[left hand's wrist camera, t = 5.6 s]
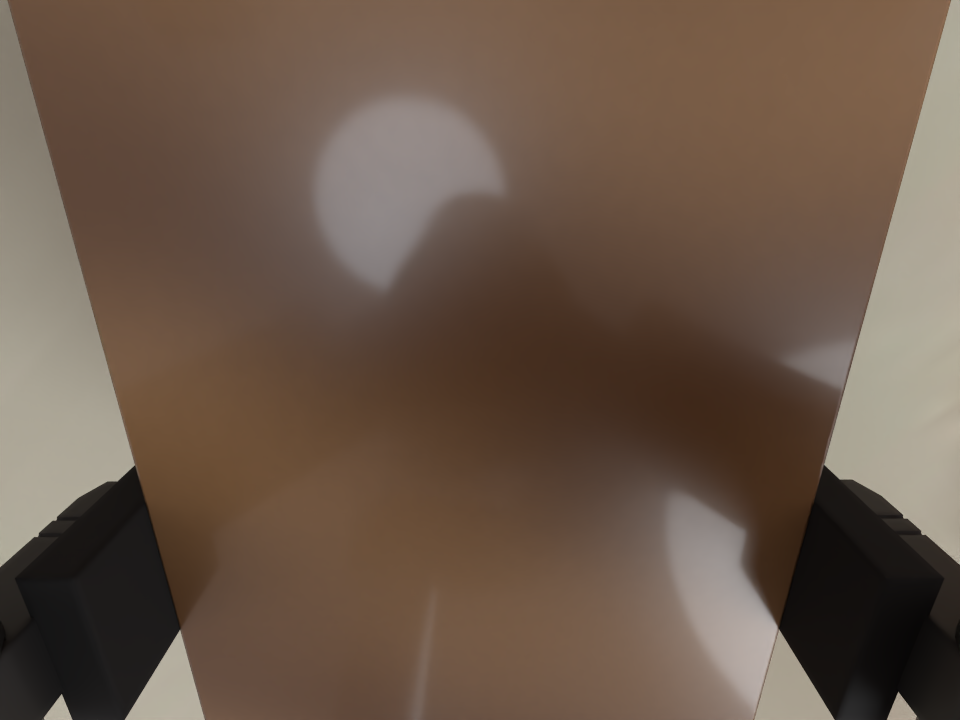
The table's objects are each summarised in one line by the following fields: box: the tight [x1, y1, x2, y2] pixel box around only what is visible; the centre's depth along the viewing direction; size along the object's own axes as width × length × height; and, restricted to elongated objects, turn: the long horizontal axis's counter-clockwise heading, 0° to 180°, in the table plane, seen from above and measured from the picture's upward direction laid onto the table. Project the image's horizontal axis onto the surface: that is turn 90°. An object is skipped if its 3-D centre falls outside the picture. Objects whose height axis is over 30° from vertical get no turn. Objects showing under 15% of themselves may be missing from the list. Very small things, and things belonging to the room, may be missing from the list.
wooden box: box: [8, 0, 951, 720], centre depth 11 cm, size 18×10×8 cm, turn 0°
